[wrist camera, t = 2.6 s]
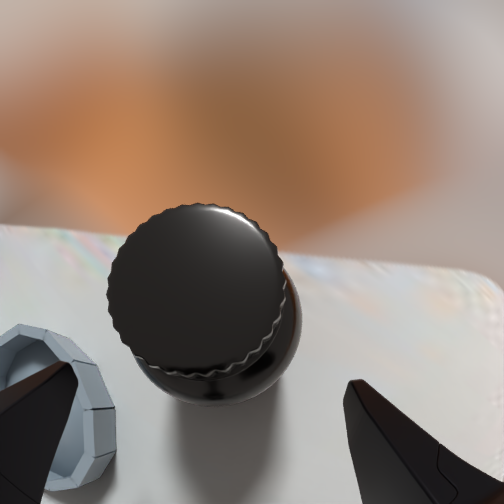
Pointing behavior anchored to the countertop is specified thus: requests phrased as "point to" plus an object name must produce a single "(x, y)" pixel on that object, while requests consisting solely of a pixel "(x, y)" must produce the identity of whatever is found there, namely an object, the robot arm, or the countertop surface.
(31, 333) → the bowl
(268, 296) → the supplement bottle
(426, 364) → the countertop surface
